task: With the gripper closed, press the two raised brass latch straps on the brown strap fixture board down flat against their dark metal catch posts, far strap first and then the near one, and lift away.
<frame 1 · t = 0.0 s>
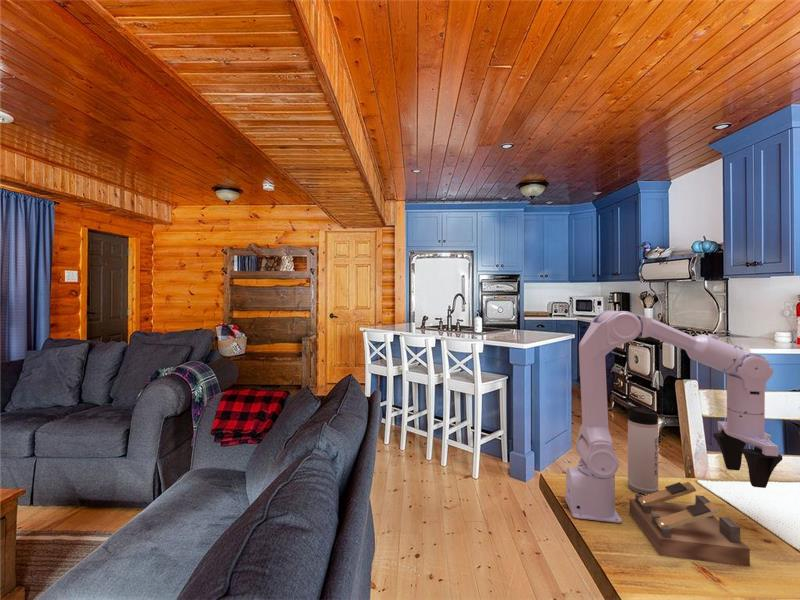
hand: (745, 477, 77), 10 cm above the table, fingers open, 7 cm apart
brown strap fixture board: (682, 536, 74), on the table
far strap: (665, 494, 78), point 6 cm above the table, hinge at 25.0°
travel mug: (641, 490, 93), on the table
near strap: (686, 515, 70), point 6 cm above the table, hinge at 25.0°
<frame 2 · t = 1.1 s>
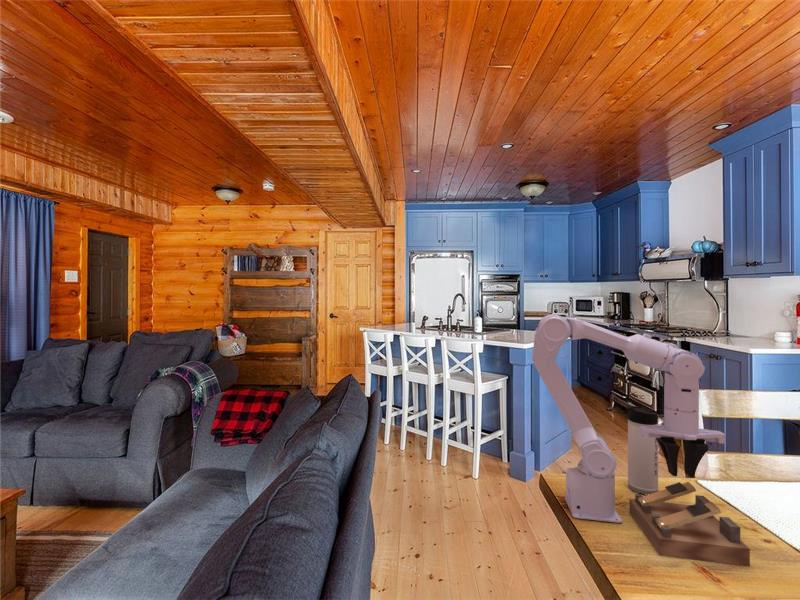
hand: (681, 474, 78), 10 cm above the table, fingers closed
nothing on the table moved.
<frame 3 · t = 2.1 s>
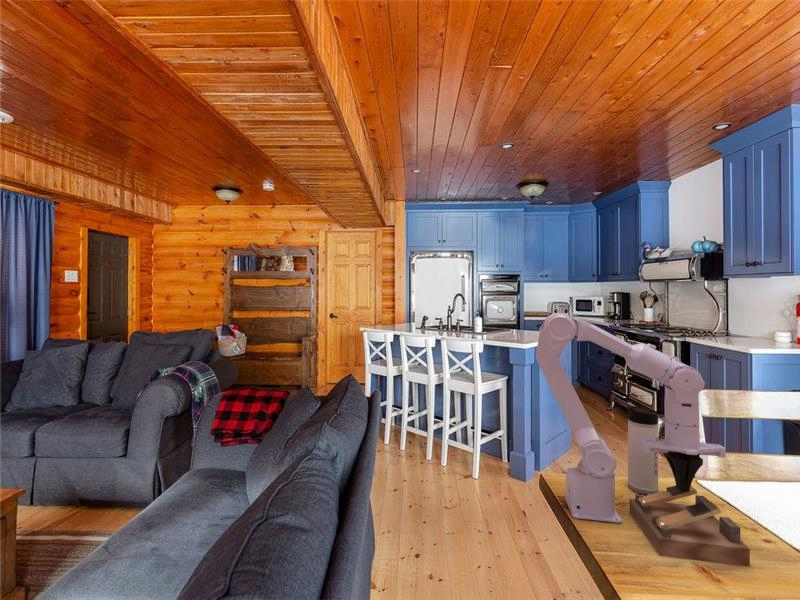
hand: (682, 489, 78), 8 cm above the table, fingers closed, pressing on far strap
far strap: (666, 495, 78), point 6 cm above the table, hinge at 22.1°, touching gripper
everything else where it was.
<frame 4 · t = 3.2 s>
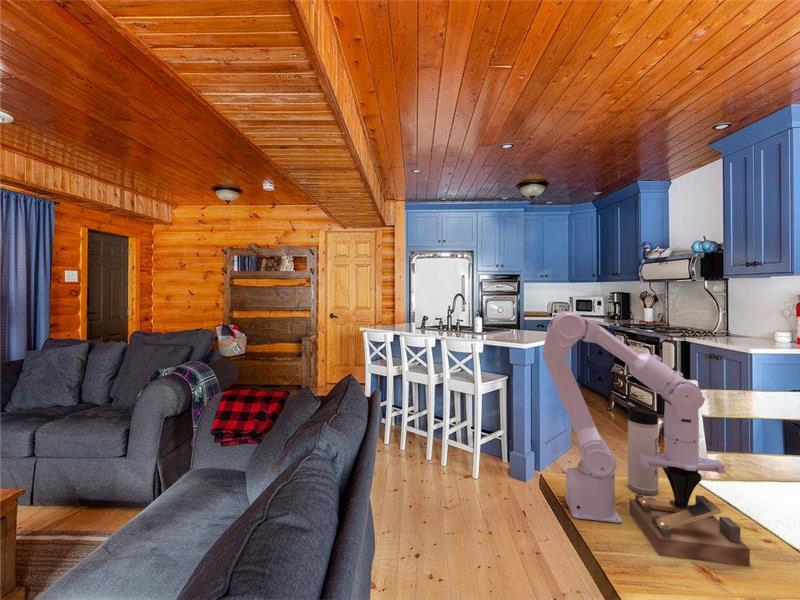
hand: (680, 504, 78), 4 cm above the table, fingers closed
far strap: (668, 505, 78), point 4 cm above the table, hinge at -3.6°, touching brown strap fixture board
everything else where it was.
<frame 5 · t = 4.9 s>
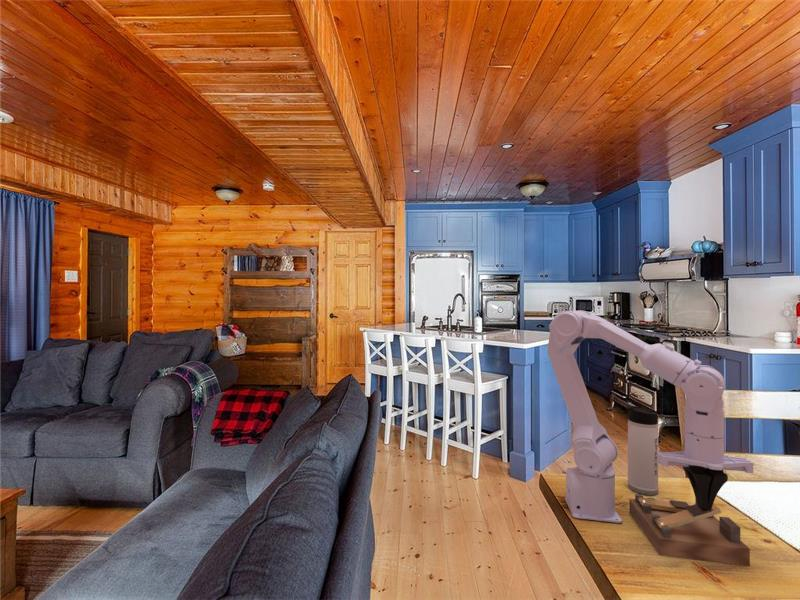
hand: (704, 507, 70), 8 cm above the table, fingers closed, pressing on near strap
near strap: (686, 515, 70), point 6 cm above the table, hinge at 24.9°, touching gripper
everything else where it was.
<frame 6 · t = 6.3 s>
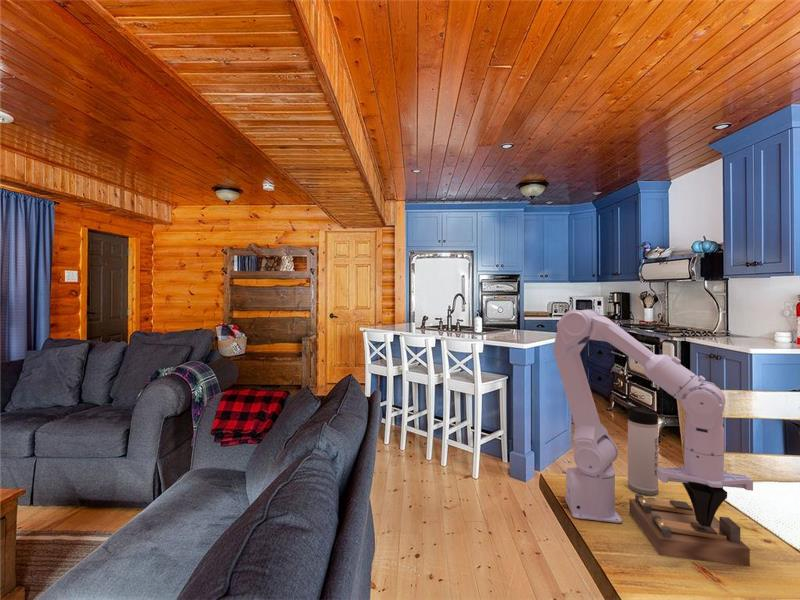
hand: (703, 523, 70), 5 cm above the table, fingers closed
near strap: (689, 528, 70), point 4 cm above the table, hinge at -3.6°, touching brown strap fixture board
everything else where it was.
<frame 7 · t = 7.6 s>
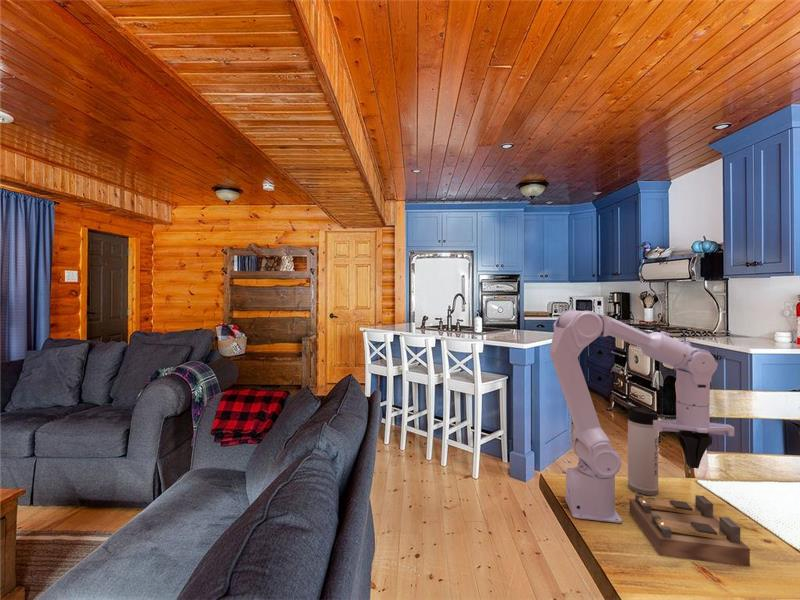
hand: (692, 466, 82), 10 cm above the table, fingers closed
nothing on the table moved.
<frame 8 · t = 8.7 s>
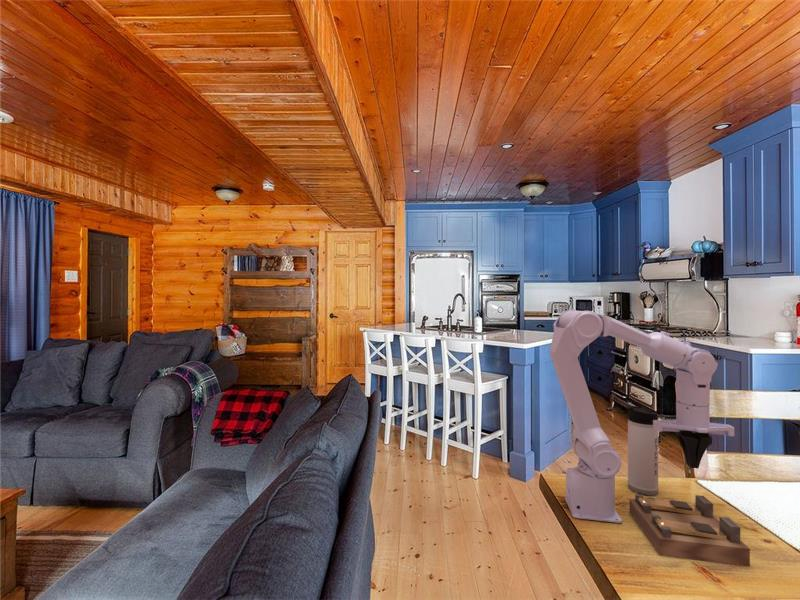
hand: (692, 466, 82), 10 cm above the table, fingers closed
nothing on the table moved.
at the end: far strap at -4° (first picture: +25°); near strap at -4° (first picture: +25°) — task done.
